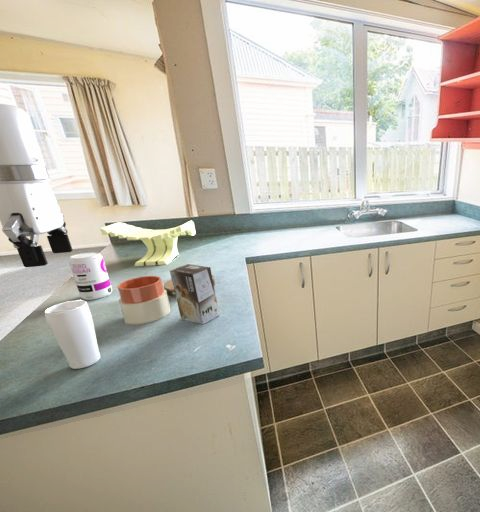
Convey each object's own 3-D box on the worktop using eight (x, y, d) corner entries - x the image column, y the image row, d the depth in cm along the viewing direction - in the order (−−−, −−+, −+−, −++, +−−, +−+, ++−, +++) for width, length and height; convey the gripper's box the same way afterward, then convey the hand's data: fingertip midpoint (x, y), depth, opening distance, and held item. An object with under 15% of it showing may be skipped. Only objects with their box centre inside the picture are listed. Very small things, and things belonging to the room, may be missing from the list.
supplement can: (113, 288, 110) (101, 250, 105) (112, 296, 104) (100, 255, 99) (82, 294, 105) (69, 254, 100) (80, 303, 99) (66, 260, 94)
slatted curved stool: (199, 253, 152) (193, 219, 146) (188, 263, 137) (180, 225, 132) (131, 256, 145) (122, 220, 139) (111, 267, 130) (100, 228, 125)
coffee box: (220, 314, 93) (212, 266, 88) (203, 325, 87) (193, 274, 82) (197, 310, 95) (188, 263, 90) (179, 319, 89) (168, 270, 84)
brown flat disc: (223, 286, 113) (222, 278, 113) (177, 301, 101) (176, 293, 100) (202, 277, 122) (200, 270, 121) (157, 290, 109) (155, 282, 108)
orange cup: (121, 326, 86) (111, 291, 82) (133, 310, 95) (124, 278, 91) (164, 319, 90) (156, 286, 86) (171, 304, 99) (164, 274, 95)
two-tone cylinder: (118, 327, 85) (111, 307, 83) (131, 309, 95) (126, 291, 93) (166, 319, 89) (161, 300, 87) (174, 303, 99) (170, 285, 97)
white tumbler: (58, 368, 68) (36, 310, 64) (94, 351, 74) (75, 297, 70) (77, 375, 66) (55, 316, 62) (112, 357, 72) (94, 302, 68)
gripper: (22, 173, 63) (50, 249, 68) (-48, 177, 48) (-5, 275, 53) (68, 172, 66) (92, 246, 71) (16, 176, 51) (51, 269, 56)
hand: (50, 258), depth 62 cm, fingers open, 9 cm apart
